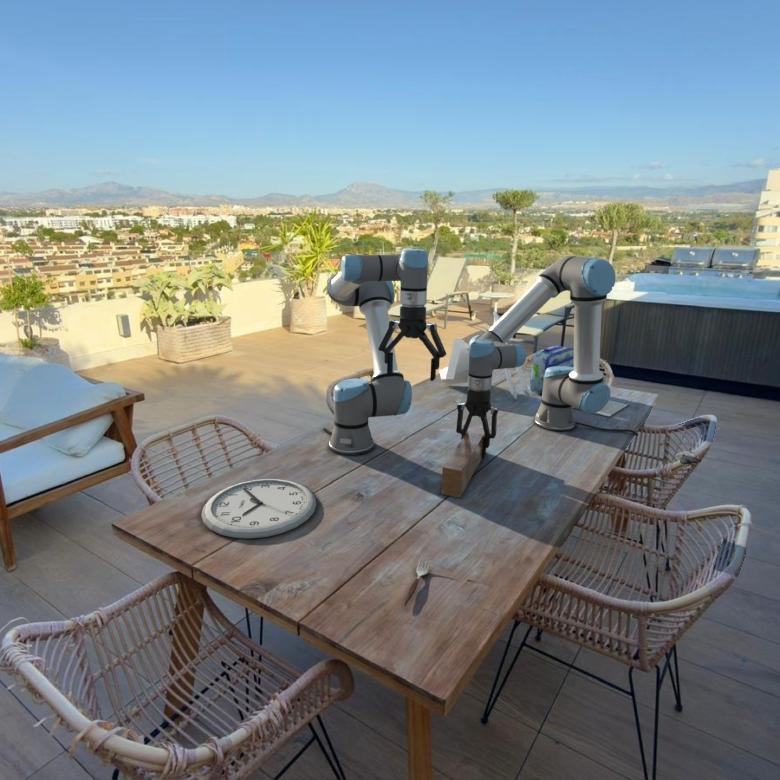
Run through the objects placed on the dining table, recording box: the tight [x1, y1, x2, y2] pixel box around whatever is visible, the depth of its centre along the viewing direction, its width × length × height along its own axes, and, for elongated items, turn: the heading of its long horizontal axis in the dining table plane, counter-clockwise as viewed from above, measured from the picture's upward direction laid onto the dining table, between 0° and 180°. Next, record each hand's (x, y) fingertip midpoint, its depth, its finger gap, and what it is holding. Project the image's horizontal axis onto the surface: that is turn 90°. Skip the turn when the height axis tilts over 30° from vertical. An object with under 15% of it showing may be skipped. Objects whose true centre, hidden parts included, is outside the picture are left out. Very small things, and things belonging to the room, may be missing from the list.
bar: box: [440, 426, 485, 499], centre depth 163 cm, size 34×6×8 cm, turn 158°
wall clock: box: [201, 478, 317, 539], centre depth 141 cm, size 30×2×30 cm
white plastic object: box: [438, 310, 531, 400], centre depth 245 cm, size 37×45×31 cm
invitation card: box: [573, 399, 629, 418], centre depth 226 cm, size 21×1×15 cm
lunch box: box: [529, 345, 574, 394], centre depth 244 cm, size 26×11×21 cm, turn 135°
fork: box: [403, 554, 432, 607], centre depth 111 cm, size 3×16×2 cm, turn 160°
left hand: (411, 377), depth 155 cm, fingers open, 13 cm apart
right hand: (474, 454), depth 175 cm, fingers closed on bar, 5 cm apart
